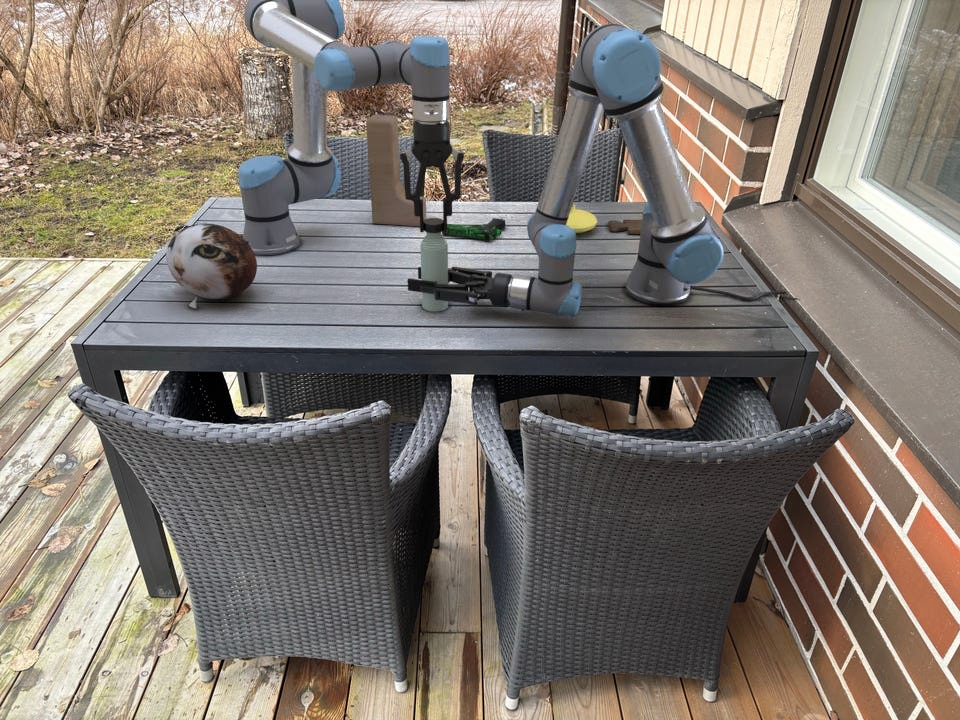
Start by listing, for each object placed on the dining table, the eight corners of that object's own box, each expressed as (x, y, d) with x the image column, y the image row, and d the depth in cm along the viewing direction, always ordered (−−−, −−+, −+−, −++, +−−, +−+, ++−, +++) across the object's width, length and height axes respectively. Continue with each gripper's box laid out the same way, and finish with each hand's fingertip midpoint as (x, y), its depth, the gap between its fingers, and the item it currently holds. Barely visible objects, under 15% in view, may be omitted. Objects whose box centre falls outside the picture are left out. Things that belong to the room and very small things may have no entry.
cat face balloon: (130, 285, 161) (164, 203, 163) (192, 308, 177) (221, 233, 178) (195, 307, 151) (229, 220, 152) (254, 330, 166) (285, 250, 168)
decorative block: (421, 227, 210) (418, 122, 195) (372, 224, 212) (365, 119, 197) (426, 218, 217) (424, 116, 201) (378, 215, 218) (372, 114, 203)
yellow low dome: (559, 216, 220) (561, 193, 217) (605, 227, 212) (608, 204, 209) (532, 230, 209) (533, 207, 206) (580, 242, 201) (582, 218, 198)
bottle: (446, 312, 164) (445, 230, 154) (420, 311, 164) (417, 229, 154) (449, 300, 169) (448, 220, 159) (424, 299, 169) (421, 219, 159)
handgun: (511, 219, 210) (493, 234, 198) (511, 228, 211) (492, 244, 199) (461, 212, 215) (440, 226, 203) (461, 221, 217) (440, 236, 204)
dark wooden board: (699, 237, 207) (691, 225, 216) (700, 231, 206) (692, 220, 215) (610, 234, 207) (606, 222, 216) (611, 228, 207) (607, 217, 215)
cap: (434, 224, 160) (434, 216, 159) (448, 229, 157) (447, 221, 156) (419, 229, 157) (419, 221, 156) (432, 234, 154) (432, 226, 153)
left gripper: (387, 124, 141) (393, 236, 153) (475, 124, 142) (474, 235, 154) (388, 116, 148) (394, 224, 160) (473, 116, 149) (472, 223, 161)
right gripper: (500, 325, 153) (399, 311, 158) (520, 289, 169) (427, 277, 174) (501, 293, 149) (397, 280, 155) (521, 259, 165) (426, 248, 170)
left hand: (433, 229), depth 157 cm, fingers closed on cap, 4 cm apart
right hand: (413, 278), depth 164 cm, fingers closed on bottle, 6 cm apart
